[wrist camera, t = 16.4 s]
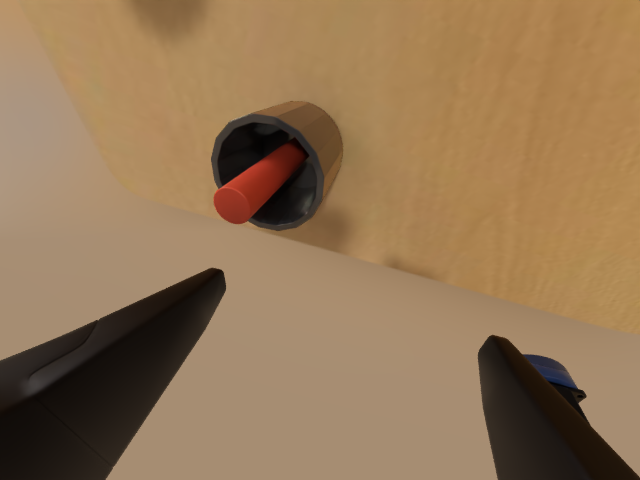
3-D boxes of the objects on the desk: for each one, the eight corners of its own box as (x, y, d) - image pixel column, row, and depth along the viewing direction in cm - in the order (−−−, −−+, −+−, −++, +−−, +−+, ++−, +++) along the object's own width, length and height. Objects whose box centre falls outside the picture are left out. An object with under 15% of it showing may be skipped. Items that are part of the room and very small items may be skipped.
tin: (337, 195, 19) (318, 239, 14) (262, 182, 20) (220, 219, 15) (349, 107, 16) (329, 123, 11) (258, 95, 16) (202, 106, 12)
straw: (310, 162, 18) (252, 228, 10) (288, 159, 18) (216, 220, 11) (311, 138, 17) (249, 191, 9) (288, 134, 17) (209, 183, 10)
